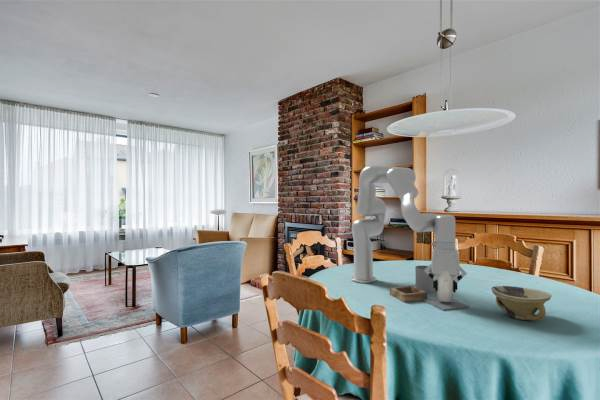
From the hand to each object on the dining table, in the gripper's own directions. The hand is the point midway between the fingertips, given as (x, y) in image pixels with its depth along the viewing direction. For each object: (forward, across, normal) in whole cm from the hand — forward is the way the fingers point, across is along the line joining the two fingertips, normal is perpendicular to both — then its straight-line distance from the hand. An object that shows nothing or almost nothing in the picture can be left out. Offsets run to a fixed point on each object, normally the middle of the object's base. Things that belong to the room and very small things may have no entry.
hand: (445, 290), depth 127 cm
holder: (+5, -14, +5) cm, 16 cm away
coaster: (+5, 0, 0) cm, 5 cm away
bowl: (+6, +24, -7) cm, 25 cm away
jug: (+4, 0, -1) cm, 4 cm away
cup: (+6, -7, +19) cm, 21 cm away
